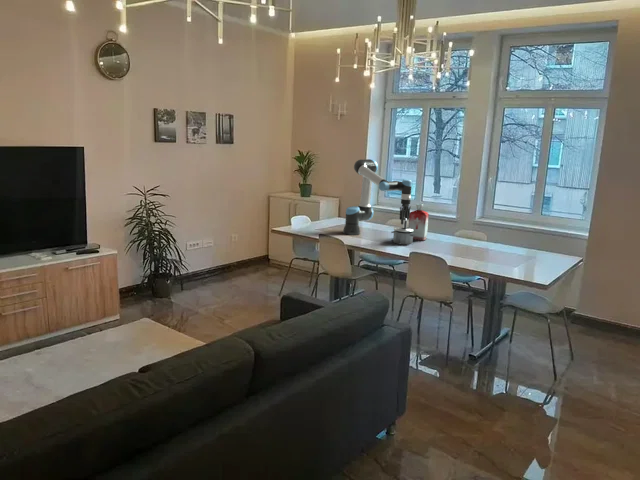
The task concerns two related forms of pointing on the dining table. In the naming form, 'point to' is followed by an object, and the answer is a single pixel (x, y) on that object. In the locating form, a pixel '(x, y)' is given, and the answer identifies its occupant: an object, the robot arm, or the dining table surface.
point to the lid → (405, 229)
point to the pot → (403, 237)
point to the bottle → (419, 223)
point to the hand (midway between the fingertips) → (403, 227)
